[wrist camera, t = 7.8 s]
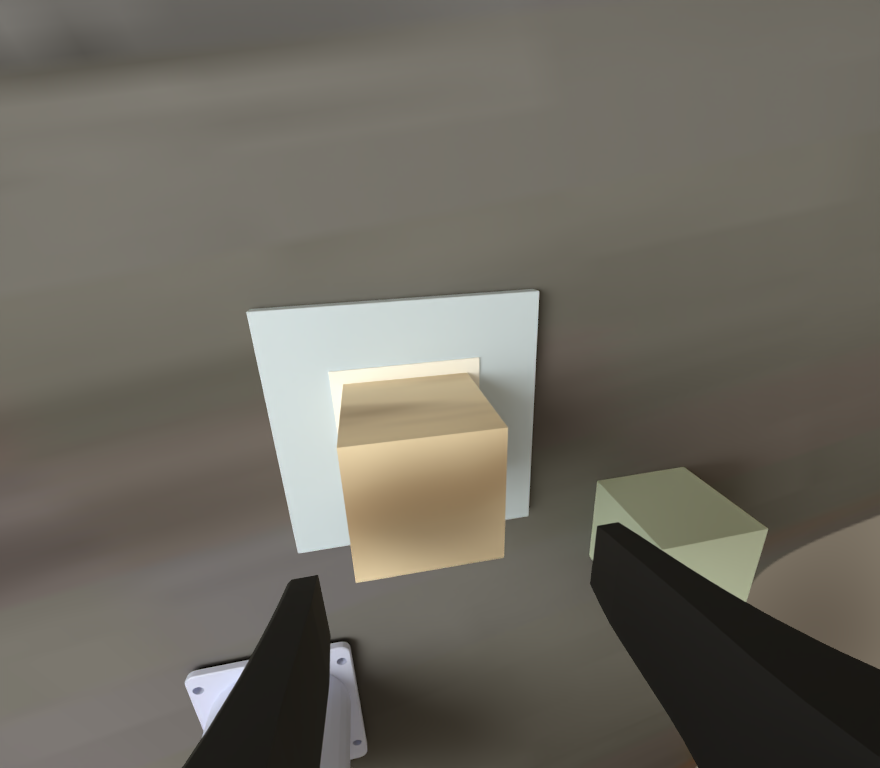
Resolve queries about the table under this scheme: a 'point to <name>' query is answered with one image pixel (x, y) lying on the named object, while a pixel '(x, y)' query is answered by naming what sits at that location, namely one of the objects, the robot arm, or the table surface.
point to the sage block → (685, 524)
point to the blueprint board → (387, 358)
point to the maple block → (421, 474)
